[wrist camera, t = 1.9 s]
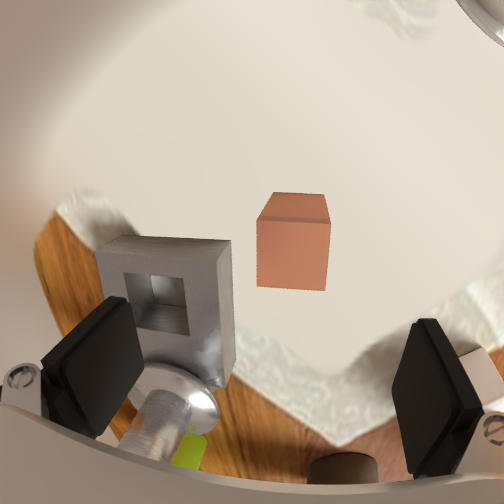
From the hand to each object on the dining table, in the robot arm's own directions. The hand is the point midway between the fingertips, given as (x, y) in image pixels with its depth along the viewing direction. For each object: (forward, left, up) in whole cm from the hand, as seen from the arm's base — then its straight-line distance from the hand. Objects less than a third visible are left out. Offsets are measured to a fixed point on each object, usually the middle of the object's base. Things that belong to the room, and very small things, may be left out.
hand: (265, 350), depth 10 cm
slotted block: (+11, -10, -14) cm, 20 cm away
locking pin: (0, 0, -14) cm, 14 cm away
